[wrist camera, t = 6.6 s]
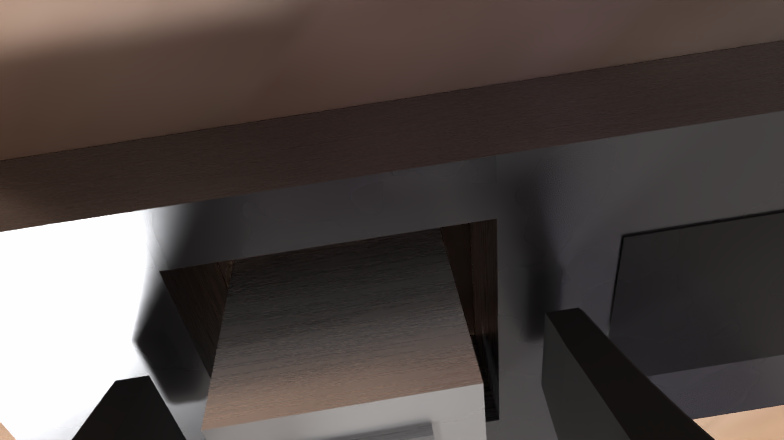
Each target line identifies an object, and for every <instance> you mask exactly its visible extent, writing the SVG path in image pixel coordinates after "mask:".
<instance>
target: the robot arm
mask: <svg viewBox="0 0 784 440" xmlns="http://www.w3.org/2000/svg"><path fill="white" fill-rule="evenodd" d="M541 386H542V389H543V392H544V396H545V399H546V403H547V406H548V409H549V413H550V416H551V419H552V422H553V425H554V429H555V432H556V435H557V438H558V440H715V439H713V438H712V437H711V436H710V435H709V434H708V433H707V432H705V431H704V430H703V429H702V428H701V427H700V426H699V425H697V424H696V423H695V422H694V421H693V420H692V419H691V418H690V417H689V416H688V415H686V414H685V413H684V412H683V411H682V410H681V409H680V408H679V407H678V406H677V405H676V404H675V403H674V402H672V401H671V400H670V399H669V398H668V397H667V396H666V395H665V394H664V393H663V392H662V391H661V390H660V389H659V388H658V387H657V386H656V385H655V384H654V383H652V382H651V381H650V380H649V379H648V378H647V377H646V376H645V375H644V374H643V373H642V372H641V371H640V370H639V369H638V368H637V367H636V366H635V365H634V364H633V363H632V362H631V361H630V360H629V359H628V358H627V357H626V356H625V355H624V354H623V353H622V351H621V350H620V349H619V348H618V347H617V346H616V345H615V344H614V343H613V342H612V341H611V340H610V339H609V338H608V337H607V336H606V335H605V334H604V333H603V331H602V330H601V329H600V328H599V327H598V326H597V325H596V324H595V323H594V322H593V321H592V320H591V318H590V317H589V316H588V315H587V314H586V313H585V312H584V311H583V310H581V309H580V308H579V307H578V308H572V309H566V310H559V311H553V312H546V313H545V325H544V342H543V360H542V377H541ZM72 440H186V438H185V436H184V435H183V433H182V431H181V429H180V428H179V426H178V424H177V423H176V421H175V419H174V417H173V416H172V414H171V412H170V411H169V409H168V407H167V405H166V404H165V402H164V400H163V399H162V397H161V395H160V393H159V392H158V390H157V388H156V386H155V385H154V383H153V381H152V380H151V378H150V376H149V375H147V376H141V377H135V378H128V379H122V380H116V381H115V382H114V383H113V384H112V386H111V387H110V388H109V390H108V391H107V392H106V394H105V395H104V396H103V398H102V399H101V400H100V402H99V403H98V404H97V406H96V407H95V408H94V410H93V411H92V413H91V414H90V415H89V417H88V418H87V419H86V421H85V422H84V423H83V425H82V426H81V428H80V429H79V430H78V432H77V433H76V434H75V436H74V437H73V439H72Z"/></svg>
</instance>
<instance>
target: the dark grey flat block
mask: <svg viewBox="0 0 784 440" xmlns="http://www.w3.org/2000/svg"><path fill="white" fill-rule="evenodd" d="M465 223H470V241H471V262H472V283H473V304H474V325H475V336H473V337H470V338H471V341H472V345H473V349H474V352H475V356H476V359H477V363H478V366H479V370H480V373H481V377H482V380H483V387H484V405H485V422H486V440H558V438H557V435H556V432H555V429H554V425H553V422H552V419H551V416H550V413H549V409H548V406H547V403H546V399H545V396H544V392H543V389H542V386H541V377H542V360H543V342H544V325H545V313H546V312H553V311H559V310H566V309H572V308H578V307H579V308H580V309H581V310H583V311H584V312H585V313H586V314H587V315H588V316H589V317H590V318H591V320H592V321H593V322H594V323H595V324H596V325H597V326H598V327H599V328H600V329H601V330H602V331H603V333H604V334H605V335H606V336H607V337H608V338H609V339H610V340H611V341H612V342H613V343H614V344H615V345H616V346H617V347H618V348H619V349H620V350H621V351H622V353H623V354H624V355H625V356H626V357H627V358H628V359H629V360H630V361H631V362H632V363H633V364H634V365H635V366H636V367H637V368H638V369H639V370H640V371H641V372H642V373H643V374H644V375H645V376H646V377H647V378H648V379H649V380H650V381H651V382H652V383H654V384H655V385H656V386H657V387H658V388H659V389H660V390H661V391H662V392H663V393H664V394H665V395H666V396H667V397H668V398H669V399H670V400H671V401H672V402H674V403H675V404H676V405H677V406H678V407H679V408H680V409H681V410H682V411H683V412H684V413H685V414H686V415H688V416H689V417H690V418H691V419H698V418H705V417H711V416H717V415H723V414H729V413H736V412H742V411H748V410H754V409H761V408H767V407H773V406H779V405H784V41H777V42H771V43H764V44H758V45H751V46H745V47H738V48H732V49H725V50H719V51H712V52H706V53H699V54H693V55H686V56H680V57H673V58H667V59H660V60H654V61H647V62H641V63H634V64H628V65H621V66H615V67H608V68H602V69H595V70H589V71H582V72H576V73H569V74H563V75H556V76H550V77H543V78H537V79H530V80H524V81H517V82H511V83H504V84H498V85H491V86H485V87H478V88H472V89H465V90H459V91H452V92H446V93H439V94H433V95H426V96H420V97H413V98H407V99H400V100H394V101H387V102H381V103H374V104H368V105H361V106H355V107H348V108H342V109H335V110H329V111H322V112H316V113H309V114H303V115H296V116H290V117H283V118H277V119H270V120H264V121H257V122H251V123H244V124H238V125H231V126H225V127H218V128H212V129H205V130H199V131H192V132H186V133H179V134H173V135H166V136H160V137H153V138H147V139H140V140H134V141H127V142H121V143H114V144H108V145H101V146H95V147H88V148H82V149H75V150H69V151H62V152H56V153H49V154H43V155H36V156H30V157H23V158H17V159H10V160H4V161H0V422H1V423H2V424H3V425H4V426H5V427H6V429H7V430H8V431H9V432H10V433H11V434H12V435H13V436H14V438H15V439H16V440H72V439H73V437H74V436H75V434H76V433H77V432H78V430H79V429H80V428H81V426H82V425H83V423H84V422H85V421H86V419H87V418H88V417H89V415H90V414H91V413H92V411H93V410H94V408H95V407H96V406H97V404H98V403H99V402H100V400H101V399H102V398H103V396H104V395H105V394H106V392H107V391H108V390H109V388H110V387H111V386H112V384H113V383H114V382H115V381H116V380H122V379H128V378H135V377H141V376H147V375H149V376H150V378H151V380H152V381H153V383H154V385H155V386H156V388H157V390H158V392H159V393H160V395H161V397H162V399H163V400H164V402H165V404H166V405H167V407H168V409H169V411H170V412H171V414H172V416H173V417H174V419H175V421H176V423H177V424H178V426H179V428H180V429H181V431H182V433H183V435H184V436H185V438H186V440H206V438H205V437H204V435H203V433H202V431H201V428H202V423H203V418H204V413H205V408H206V403H207V397H208V392H209V387H210V382H211V377H212V372H213V366H214V361H215V356H216V351H217V346H218V341H219V336H220V330H221V325H222V320H223V315H224V310H225V305H226V299H227V294H228V289H227V286H226V284H225V281H224V279H223V276H222V274H221V271H220V269H219V266H218V264H217V262H222V261H228V260H235V259H241V258H248V257H254V256H260V255H267V254H273V253H280V252H286V251H292V250H299V249H305V248H312V247H318V246H324V245H331V244H337V243H344V242H350V241H356V240H363V239H369V238H376V237H382V236H389V235H395V234H401V233H408V232H414V231H421V230H427V229H433V228H440V227H446V226H453V225H459V224H465Z"/></svg>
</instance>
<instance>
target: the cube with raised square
mask: <svg viewBox="0 0 784 440" xmlns="http://www.w3.org/2000/svg"><path fill="white" fill-rule="evenodd" d="M201 431H202V433H203V435H204V437H205V438H206V440H486V422H485V405H484V387H483V380H482V377H481V373H480V370H479V366H478V363H477V359H476V356H475V352H474V349H473V345H472V341H471V338H470V334H469V331H468V327H467V324H466V320H465V317H464V313H463V310H462V306H461V302H460V299H459V295H458V292H457V288H456V285H455V281H454V278H453V274H452V270H451V267H450V263H449V260H448V256H447V253H446V249H445V246H444V242H443V239H442V235H441V231H440V228H433V229H427V230H421V231H414V232H408V233H401V234H395V235H389V236H382V237H376V238H369V239H363V240H356V241H350V242H344V243H337V244H331V245H324V246H318V247H312V248H305V249H299V250H292V251H286V252H280V253H273V254H267V255H260V256H254V257H248V258H241V259H235V260H234V263H233V269H232V274H231V279H230V284H229V289H228V294H227V299H226V305H225V310H224V315H223V320H222V325H221V330H220V336H219V341H218V346H217V351H216V356H215V361H214V366H213V372H212V377H211V382H210V387H209V392H208V397H207V403H206V408H205V413H204V418H203V423H202V428H201Z"/></svg>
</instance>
